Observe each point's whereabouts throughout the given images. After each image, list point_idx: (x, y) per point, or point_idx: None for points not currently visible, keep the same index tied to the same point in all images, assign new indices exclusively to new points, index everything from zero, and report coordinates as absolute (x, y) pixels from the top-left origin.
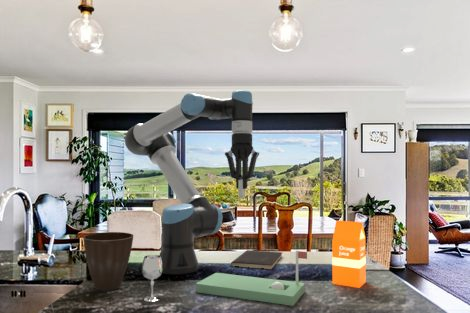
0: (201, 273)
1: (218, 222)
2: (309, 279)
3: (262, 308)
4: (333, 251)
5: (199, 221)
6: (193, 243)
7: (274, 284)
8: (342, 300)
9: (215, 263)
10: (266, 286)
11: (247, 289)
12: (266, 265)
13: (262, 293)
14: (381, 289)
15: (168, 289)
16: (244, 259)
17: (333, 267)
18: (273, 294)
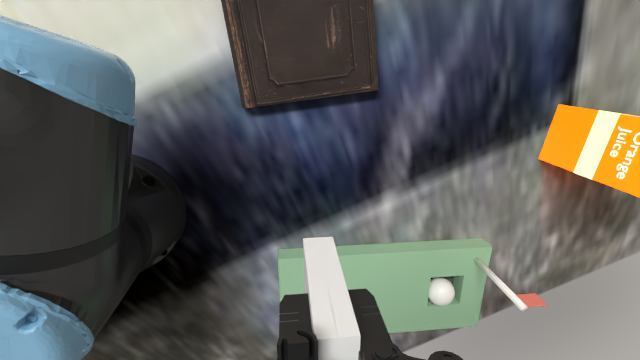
0: (211, 213)
1: (131, 113)
2: (485, 147)
3: (423, 343)
4: (609, 185)
5: (109, 254)
6: (134, 225)
7: (440, 305)
8: (549, 256)
9: (178, 91)
10: (420, 299)
11: (391, 328)
12: (359, 89)
13: (421, 329)
14: None
15: (223, 339)
16: (269, 56)
17: (571, 170)
18: (441, 327)
